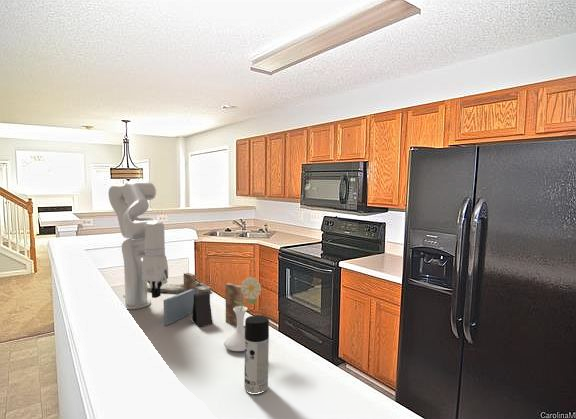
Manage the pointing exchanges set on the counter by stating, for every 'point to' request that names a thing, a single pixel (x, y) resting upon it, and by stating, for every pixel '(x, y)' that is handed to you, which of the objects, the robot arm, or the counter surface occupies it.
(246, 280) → the flower in vase
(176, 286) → the long grey stone
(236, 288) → the brown wooden blocks
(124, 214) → the robot arm
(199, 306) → the phone stand
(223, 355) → the counter surface
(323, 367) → the counter surface
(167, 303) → the blue rectangular panel
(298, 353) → the counter surface
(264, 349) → the spray can
